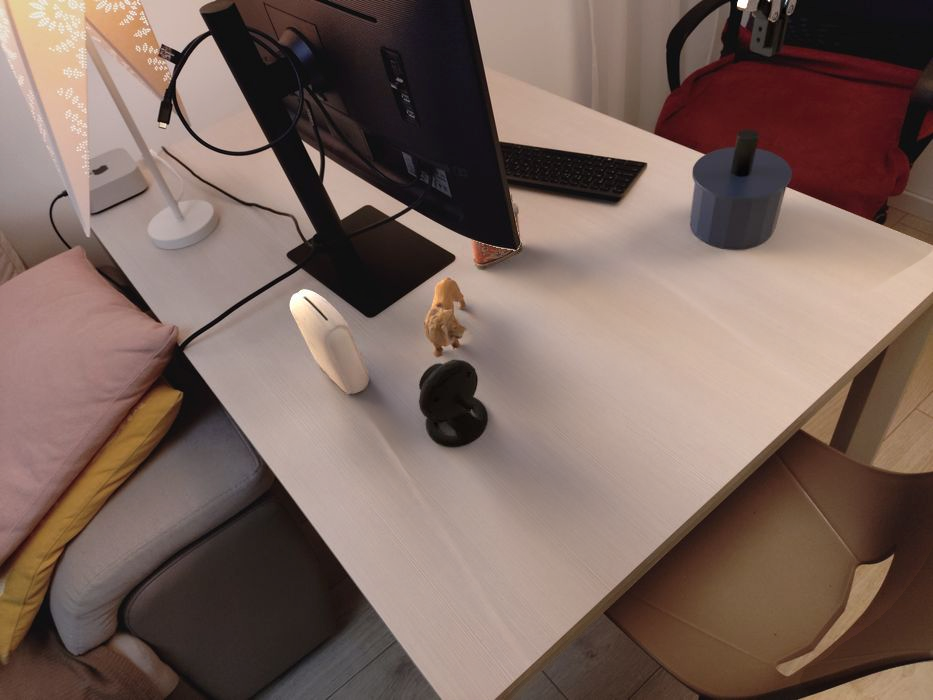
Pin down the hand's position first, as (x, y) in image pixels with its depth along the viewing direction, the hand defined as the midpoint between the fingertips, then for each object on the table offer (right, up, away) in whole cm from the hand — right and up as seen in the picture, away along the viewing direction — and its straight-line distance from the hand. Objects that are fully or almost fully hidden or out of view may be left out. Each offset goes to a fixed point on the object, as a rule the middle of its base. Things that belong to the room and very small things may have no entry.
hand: (765, 51), depth 74 cm
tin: (+4, -17, +18) cm, 25 cm away
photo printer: (-52, -38, +10) cm, 65 cm away
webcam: (-36, -44, +1) cm, 57 cm away
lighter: (-30, -21, +21) cm, 43 cm away
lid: (+2, -11, +12) cm, 17 cm away
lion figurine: (-37, -33, +11) cm, 51 cm away
